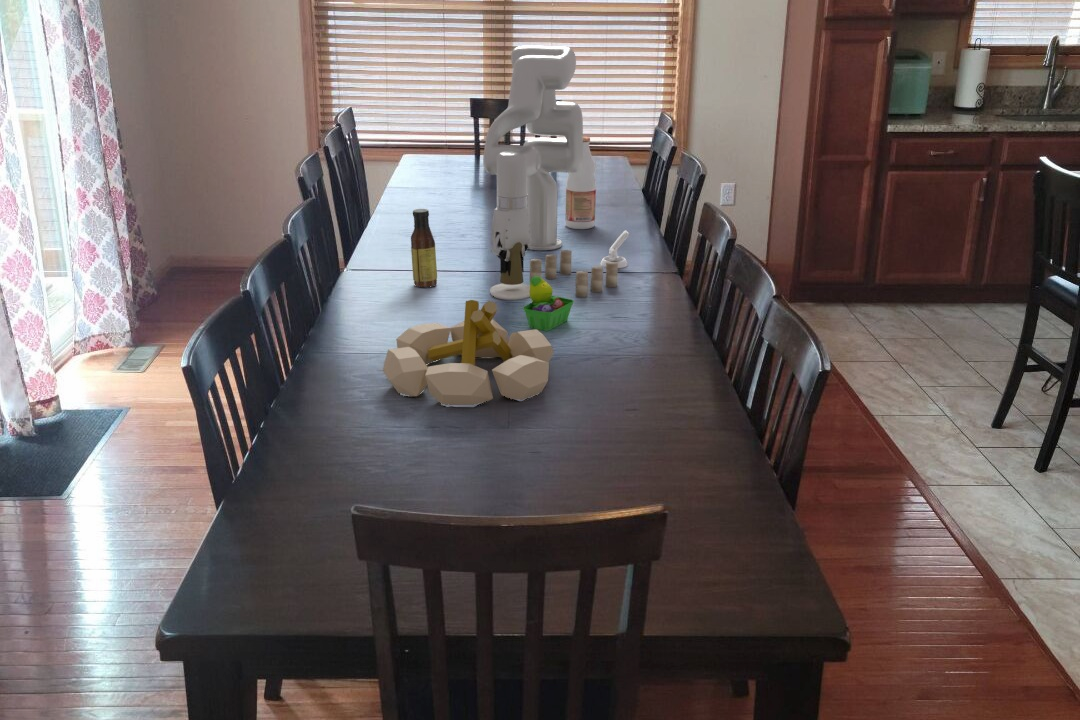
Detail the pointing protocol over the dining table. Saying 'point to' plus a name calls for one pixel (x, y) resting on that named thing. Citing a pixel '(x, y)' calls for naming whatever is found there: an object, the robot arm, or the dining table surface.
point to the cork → (514, 267)
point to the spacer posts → (580, 275)
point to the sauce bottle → (423, 251)
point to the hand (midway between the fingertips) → (511, 272)
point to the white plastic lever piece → (614, 254)
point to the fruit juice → (581, 192)
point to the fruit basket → (545, 306)
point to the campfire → (469, 359)
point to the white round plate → (510, 291)
